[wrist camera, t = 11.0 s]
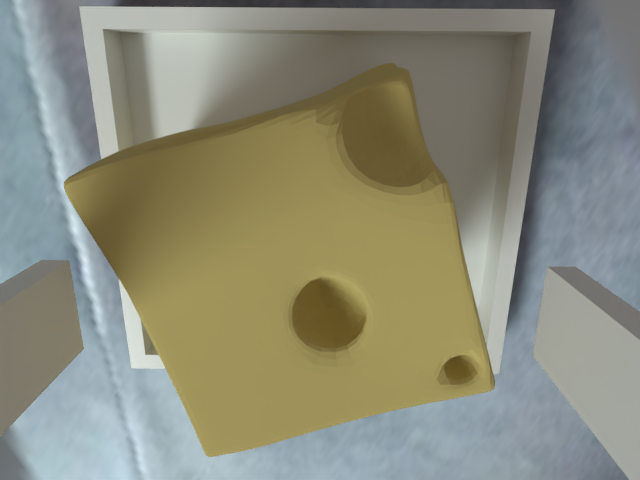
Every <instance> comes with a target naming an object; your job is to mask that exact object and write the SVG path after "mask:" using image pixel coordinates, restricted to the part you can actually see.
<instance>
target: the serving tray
mask: <svg viewBox="0 0 640 480" xmlns="http://www.w3.org/2000/svg"><path fill="white" fill-rule="evenodd" d="M79 7H80V14H81V21H82V28H83V35H84V42H85V49H86V56H87V63H88V70H89V77H90V84H91V91H92V98H93V105H94V111H95V118H96V125H97V132H98V139H99V146H100V153H101V159H103V158H105V157H107V156H109V155H111V154H114V153H116V152H118V151H121V150H123V149H126V148H129V147H131V146H134V145H137V144H140V143H144V142H147V141H150V140H154V139H157V138H161V137H164V136H168V135H171V134H175V133H179V132H183V131H187V130H191V129H197V128H202V127H207V126H212V125H217V124H222V123H226V122H230V121H234V120H238V119H242V118H245V117H249V116H252V115H256V114H259V113H263V112H266V111H270V110H273V109H277V108H280V107H283V106H286V105H289V104H292V103H295V102H299V101H302V100H305V99H308V98H311V97H314V96H316V95H319V94H321V93H324V92H326V91H328V90H330V89H332V88H334V87H336V86H338V85H340V84H342V83H344V82H346V81H348V80H350V79H352V78H354V77H355V76H357V75H359V74H361V73H363V72H365V71H367V70H369V69H372V68H374V67H376V66H379V65H382V64H386V63H394V64H396V66H397V68H399V67H401V68H404V69H407V70H408V71H409V73H410V76H411V79H412V84H413V88H414V94H415V100H416V105H417V111H418V116H419V121H420V126H421V130H422V134H423V137H424V141H425V144H426V147H427V150H428V153H429V155H430V157H431V159H432V161H433V162H434V164H435V165H436V166H437V167H438V169H439V170H440V171H441V173H442V174H443V176H444V177H445V179H446V180H447V182H448V184H449V188H450V192H451V195H452V198H453V201H454V205H455V210H456V216H457V221H458V226H459V232H460V237H461V243H462V248H463V252H464V257H465V261H466V265H467V270H468V274H469V278H470V282H471V286H472V290H473V294H474V298H475V303H476V307H477V311H478V315H479V319H480V323H481V327H482V331H483V335H484V339H485V342H486V346H487V350H488V354H489V358H490V362H491V367H492V371H493V374H499V369H500V363H501V357H502V350H503V344H504V337H505V331H506V324H507V318H508V311H509V305H510V298H511V292H512V285H513V279H514V272H515V266H516V259H517V253H518V247H519V240H520V234H521V227H522V221H523V214H524V208H525V201H526V195H527V188H528V182H529V175H530V169H531V162H532V156H533V149H534V143H535V137H536V130H537V124H538V117H539V111H540V104H541V98H542V91H543V85H544V78H545V72H546V65H547V59H548V52H549V46H550V39H551V33H552V26H553V20H554V14H555V9H422V8H255V7H87V6H79ZM119 285H120V292H121V299H122V306H123V313H124V320H125V327H126V333H127V340H128V347H129V354H130V361H131V368H148V369H165V367H164V365H163V362H162V360H161V358H160V357H159V355H158V353H157V351H156V349H155V347H154V345H153V343H152V341H151V339H150V337H149V335H148V333H147V331H146V329H145V327H144V325H143V323H142V321H141V319H140V317H139V315H138V313H137V311H136V309H135V307H134V305H133V303H132V301H131V299H130V297H129V295H128V293H127V291H126V290H125V288H124V286H123V285H122V283H121V281H120V280H119Z"/></svg>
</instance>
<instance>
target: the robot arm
mask: <svg viewBox="0 0 640 480" xmlns="http://www.w3.org/2000/svg"><path fill="white" fill-rule="evenodd" d="M83 349H84V347H83V341H82V335H81V329H80V323H79V317H78V311H77V305H76V299H75V293H74V287H73V281H72V275H71V269H70V263H69V261H65V260H41V261H39V262H38V263H36V264H34V265H33V266H31V267H29V268H27V269H26V270H24V271H22V272H21V273H19V274H17V275H16V276H14V277H12V278H10V279H9V280H7V281H5V282H4V283H2V284H0V436H1V435H2V434H3V433H4V432H5V431H6V430H7V429H8V428H9V427H10V426H11V425H12V424H13V423H14V422H15V421H16V419H17V418H18V417H19V416H20V415H21V414H22V413H23V412H24V411H25V410H26V409H27V408H28V407H29V406H30V405H31V404H32V403H33V402H34V401H35V399H36V398H37V397H38V396H39V395H40V394H41V393H42V392H43V391H44V390H45V389H46V388H47V387H48V386H49V385H50V384H51V383H52V382H53V380H54V379H55V378H56V377H57V376H58V375H59V374H60V373H61V372H62V371H63V370H64V369H65V368H66V367H67V366H68V365H69V364H70V363H71V362H72V360H73V359H74V358H75V357H76V356H77V355H78V354H79V353H80V352H81V351H82V350H83ZM533 357H534V358H535V359H536V360H537V362H538V363H539V364H540V366H541V367H542V368H543V369H544V371H545V372H546V373H547V375H548V376H549V377H550V378H551V380H552V381H553V382H554V384H555V385H556V386H557V387H558V389H559V390H560V391H561V393H562V394H563V395H564V396H565V398H566V399H567V400H568V402H569V403H570V404H571V405H572V407H573V408H574V409H575V411H576V412H577V413H578V414H579V416H580V417H581V418H582V420H583V421H584V422H585V423H586V425H587V426H588V427H589V429H590V430H591V431H592V432H593V434H594V435H595V436H596V438H597V439H598V440H599V441H600V443H601V444H602V445H603V447H604V448H605V449H606V450H607V452H608V453H609V454H610V456H611V457H612V458H613V459H614V461H615V462H616V463H617V465H618V466H619V467H620V468H621V470H622V471H623V472H624V474H625V475H626V476H627V477H628V479H629V480H640V312H639V311H637V310H636V309H635V308H633V307H632V306H630V305H629V304H627V303H626V302H625V301H623V300H622V299H620V298H619V297H618V296H616V295H615V294H613V293H612V292H610V291H609V290H608V289H606V288H605V287H603V286H602V285H601V284H599V283H598V282H596V281H595V280H593V279H592V278H591V277H589V276H588V275H586V274H585V273H584V272H582V271H581V270H579V269H578V268H576V267H547V272H546V278H545V284H544V290H543V296H542V302H541V308H540V314H539V320H538V326H537V332H536V338H535V344H534V350H533Z"/></svg>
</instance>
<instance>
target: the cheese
mask: <svg viewBox="0 0 640 480" xmlns="http://www.w3.org/2000/svg"><path fill="white" fill-rule="evenodd" d="M64 189H65V192H66V194H67V196H68V198H69V200H70V201H71V203H72V205H73V206H74V208H75V210H76V211H77V213H78V214H79V216H80V218H81V219H82V221H83V223H84V224H85V226H86V227H87V229H88V230H89V232H90V234H91V235H92V237H93V238H94V240H95V241H96V243H97V245H98V246H99V248H100V249H101V251H102V252H103V254H104V255H105V257H106V259H107V260H108V262H109V263H110V265H111V267H112V268H113V270H114V271H115V273H116V275H117V276H118V278H119V280H120V281H121V283H122V285H123V286H124V288H125V290H126V291H127V293H128V295H129V297H130V299H131V301H132V303H133V305H134V307H135V309H136V311H137V313H138V315H139V317H140V319H141V321H142V323H143V325H144V327H145V329H146V331H147V333H148V335H149V337H150V339H151V341H152V343H153V345H154V347H155V349H156V351H157V353H158V355H159V357H160V358H161V360H162V362H163V365H164V367H165V369H166V371H167V373H168V375H169V377H170V379H171V381H172V383H173V385H174V387H175V389H176V391H177V393H178V395H179V397H180V399H181V401H182V403H183V405H184V407H185V410H186V412H187V414H188V416H189V418H190V420H191V423H192V425H193V427H194V429H195V431H196V434H197V436H198V438H199V441H200V443H201V445H202V448H203V450H204V452H205V454H206V456H208V457H213V456H218V455H223V454H229V453H235V452H240V451H245V450H249V449H253V448H257V447H261V446H265V445H269V444H272V443H276V442H279V441H282V440H286V439H289V438H293V437H296V436H299V435H303V434H306V433H310V432H313V431H316V430H320V429H323V428H327V427H331V426H334V425H338V424H341V423H345V422H349V421H353V420H357V419H361V418H365V417H368V416H372V415H376V414H381V413H385V412H389V411H393V410H398V409H402V408H407V407H412V406H416V405H421V404H426V403H431V402H437V401H442V400H448V399H454V398H459V397H464V396H469V395H475V394H480V393H484V392H488V391H491V390H493V389H494V386H495V380H494V375H493V371H492V367H491V362H490V358H489V354H488V350H487V346H486V342H485V339H484V335H483V331H482V327H481V323H480V319H479V315H478V311H477V307H476V303H475V298H474V294H473V290H472V286H471V282H470V278H469V274H468V270H467V265H466V261H465V257H464V252H463V248H462V243H461V237H460V232H459V226H458V221H457V216H456V210H455V205H454V201H453V198H452V195H451V192H450V188H449V184H448V182H447V180H446V179H445V177H444V176H443V174H442V173H441V171H440V170H439V169H438V167H437V166H436V165H435V164H434V162H433V161H432V159H431V157H430V155H429V153H428V150H427V147H426V144H425V141H424V137H423V134H422V130H421V126H420V121H419V116H418V111H417V105H416V100H415V94H414V88H413V84H412V79H411V76H410V73H409V71H408V70H407V69H404V68H401V67H399V68H397V66H396V64H394V63H386V64H382V65H379V66H376V67H374V68H372V69H369V70H367V71H365V72H363V73H361V74H359V75H357V76H355V77H354V78H352V79H350V80H348V81H346V82H344V83H342V84H340V85H338V86H336V87H334V88H332V89H330V90H328V91H326V92H324V93H321V94H319V95H316V96H314V97H311V98H308V99H305V100H302V101H299V102H295V103H292V104H289V105H286V106H283V107H280V108H277V109H273V110H270V111H266V112H263V113H259V114H256V115H252V116H249V117H245V118H242V119H238V120H234V121H230V122H226V123H222V124H217V125H212V126H207V127H202V128H197V129H191V130H187V131H183V132H179V133H175V134H171V135H168V136H164V137H161V138H157V139H154V140H150V141H147V142H144V143H140V144H137V145H134V146H131V147H129V148H126V149H123V150H121V151H118V152H116V153H114V154H111V155H109V156H107V157H105V158H103V159H101V160H99V161H98V162H96V163H94V164H92V165H90V166H88V167H86V168H84V169H83V170H81V171H79V172H78V173H76V174H74V175H72V176H71V177H69V178H68V179H67V180H66V181H65V182H64Z"/></svg>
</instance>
